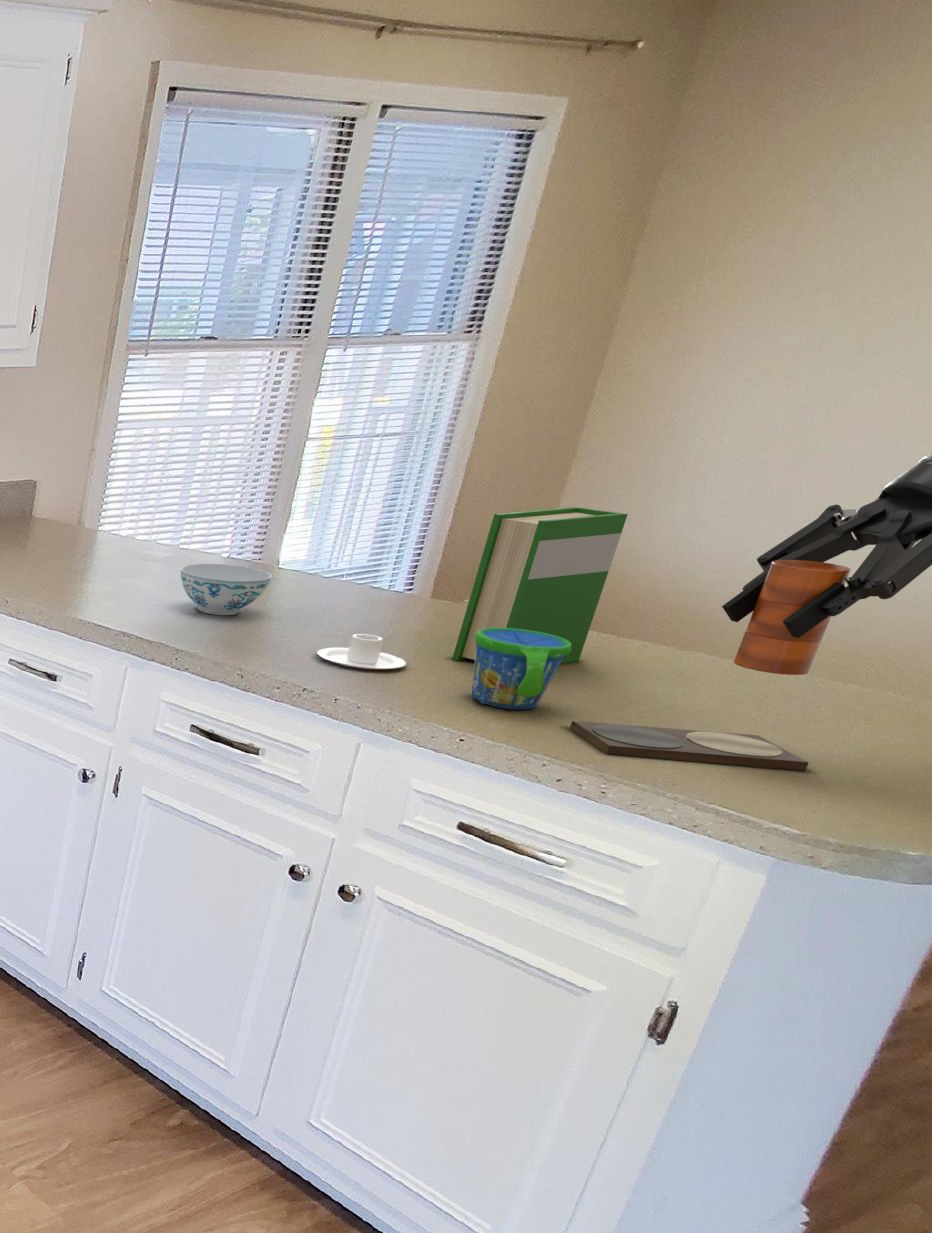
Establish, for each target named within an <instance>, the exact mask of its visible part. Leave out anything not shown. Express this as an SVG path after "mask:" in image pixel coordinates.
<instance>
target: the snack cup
mask: <svg viewBox="0 0 932 1233" xmlns="http://www.w3.org/2000/svg"><path fill="white" fill-rule="evenodd" d="M475 642H476V645H477V647H476V655H475V660H474V664H473V672H472V677H473V678H472V683H471V697H472V698H473V699H474V700H477V701H478V702H479V703H480V704H482V705H489V706H491V707H494V708H497V709H503V710H517V711H519V710H520V711H523V710H530V709H535V708H536V707H537V706H538V704H539V703H540V701H541V699H542V697H543V695H544V694H545V691H546V690H547V688H548V686H549V684H550V683H551V682H552V680H553V678H554V676H555V674H556V672H557V671H558V668H559V666H560V664H561V663H560V662H561V661H562V659H563V658H564V657H565V656H566V655H568V654H569V653H570V652H571V642H569V641H568V640H566V639H564V638H561V637H558V636H555V635H551V634H547V633H542V632H537V631H531V630H523V629H514V628H486V629H481V630H479V631H478V632H476V634H475Z"/></svg>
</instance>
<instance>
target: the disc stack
mask: <svg viewBox="0 0 932 1233" xmlns="http://www.w3.org/2000/svg"><path fill="white" fill-rule="evenodd" d="M850 573H851V568H850V567H848V566H844V565H840V564H835V563H830V562H815V561H803V560H776V561H773V562H772V564H771V567H770V569H769V572H768V574H767V577H766V579H765V582H764V585H763V587H762V590H761V592H760V595H759V597H758V600H757V603H756V605H755V608H754V610H753V611H752V612H751V615H750V618H749V621H748V624H747V626H746V629H745V631H744V634H743V637H742V639H741V642H740V644H739V646H738V649H737V652H736V654H735V657H734V659H733V664H734V665H737V666H739V667H741V668H744V669H748V670H752V671H757V672H763V673H769V674H776V675H786V676H802V675H807V674H808V673H809V672H810V669H811V667H812V665H813V662H814V659H815V657H816V654H817V653H818V650H819V647H820V646H821V642H822V640H823V638H824V635H825V633H826V630H827V628H828V626H829V624H830V621H831V619H832V616H829V617H827V618H826V619H825V620H823V621H822V622H820V623H819V624H818V625H816V626H815V627H813V628H812V629H811V630H809V631H808V632H806V633H805V634H804V635H802V636H801V637H799V638H797V637H793V636H792V635H791V634H790V632H789V631H788V629H787V628H786V626H785V624H784V623H783V620H785V619H786V618H787V617H789V616H790V615H792V614H793V613H794V612H796V611H797V610H799V609H800V608H801V607H803V606H804V605H806V604H807V603H808V602H810V601H811V600H812V599H814V598H815V597H817V596H818V595H819V594H821V593H822V592H824V591H825V590H826V589H828V588H829V587H831V586H832V585H833V584H835V583H836V582H837V583H842V584H844V586H845V585H846V583H847V582H846V581H845V577H847V579H848V577H849V575H850Z"/></svg>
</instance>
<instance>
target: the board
mask: <svg viewBox="0 0 932 1233" xmlns="http://www.w3.org/2000/svg"><path fill="white" fill-rule="evenodd" d="M569 730H571V731H573V732H574V733H575V734H576V735H578V736H580V737H581V738H583V739H584V740H585V741H587V742H588V743H590V744H591V745H593V746H594V747H596V748H597V749H599V750H600V751H601V752H603V753H604V754H606V755H613V756H625V757H637V758H649V759H650V758H651V759H661V760H672V761H673V760H674V761H683V762H695V763H709V764H719V765H720V764H721V765H731V766H732V765H733V766H742V767H753V768H764V769H765V768H767V769H778V770H788V771H789V770H790V771H801V772H806V770H807V768H808V765H809V761H807V760H805V759H804V758H802V757H801V756H798V755H796V754H794V753H792V752H790V751H788V750H787V749H784V748H782V747H781V746H779V745H777V744H775V743H773V742H771V741H770V740H768V739H767V738H764V737H762V736H760V735H758V734H745V733H733V732H721V731H720V732H719V731H708V730H707V731H706V730H695V729H684V728H683V729H682V728H672V727H671V728H669V727H657V726H655V727H654V726H646V725H645V726H643V725H642V726H641V725H633V724H632V725H630V724H620V723H619V724H617V723H606V722H593V721H583V720H582V721H581V720H571V723H570V726H569Z"/></svg>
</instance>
